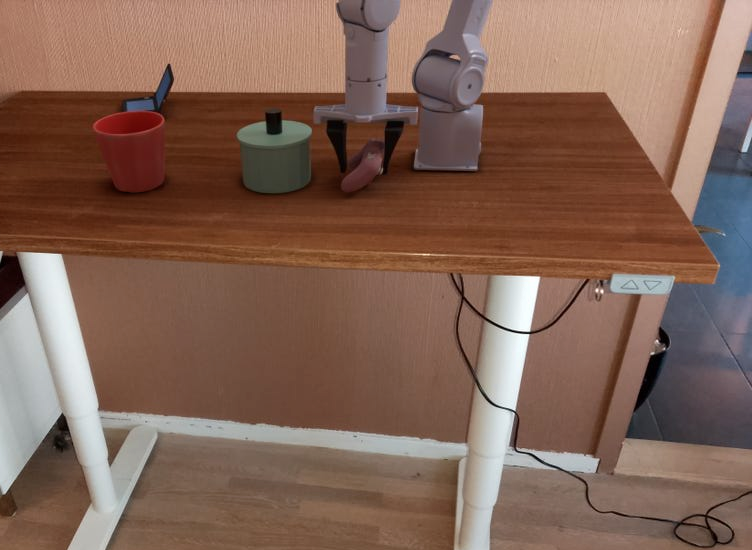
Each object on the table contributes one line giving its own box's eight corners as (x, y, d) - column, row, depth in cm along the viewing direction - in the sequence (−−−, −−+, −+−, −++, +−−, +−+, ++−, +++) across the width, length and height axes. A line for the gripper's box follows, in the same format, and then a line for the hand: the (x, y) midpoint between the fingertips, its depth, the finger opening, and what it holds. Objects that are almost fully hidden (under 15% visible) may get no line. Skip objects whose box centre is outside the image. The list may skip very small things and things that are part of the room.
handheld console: (122, 105, 148) (116, 67, 144) (174, 99, 149) (170, 61, 145) (123, 123, 138) (116, 83, 134) (179, 117, 139) (174, 77, 135)
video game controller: (366, 204, 104) (389, 162, 100) (337, 190, 104) (359, 147, 99) (372, 177, 112) (393, 138, 108) (346, 164, 111) (366, 124, 107)
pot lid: (305, 124, 112) (304, 96, 110) (318, 148, 103) (318, 118, 101) (233, 131, 111) (231, 103, 109) (241, 156, 102) (239, 126, 100)
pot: (304, 164, 116) (302, 121, 112) (316, 189, 107) (315, 143, 103) (240, 171, 115) (236, 128, 111) (247, 196, 106) (243, 151, 102)
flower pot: (117, 203, 107) (104, 139, 101) (96, 179, 115) (84, 119, 109) (183, 187, 111) (174, 124, 105) (158, 165, 119) (149, 105, 113)
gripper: (309, 84, 97) (311, 180, 105) (418, 84, 94) (412, 183, 102) (317, 70, 102) (318, 162, 110) (420, 70, 99) (414, 165, 107)
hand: (364, 171), depth 106 cm, fingers closed on video game controller, 5 cm apart
